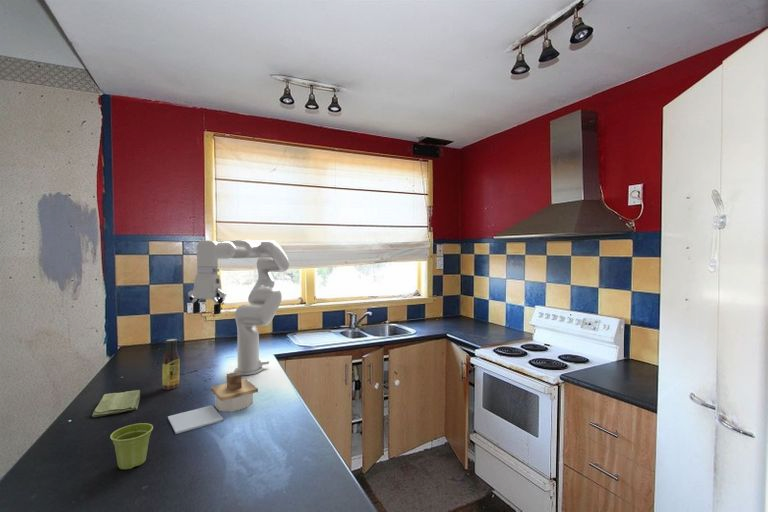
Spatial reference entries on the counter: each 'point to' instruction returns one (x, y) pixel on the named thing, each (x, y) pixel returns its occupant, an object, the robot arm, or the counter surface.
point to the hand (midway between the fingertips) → (206, 313)
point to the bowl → (234, 403)
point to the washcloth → (117, 403)
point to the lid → (234, 387)
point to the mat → (194, 419)
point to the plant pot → (131, 444)
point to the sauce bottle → (170, 366)
